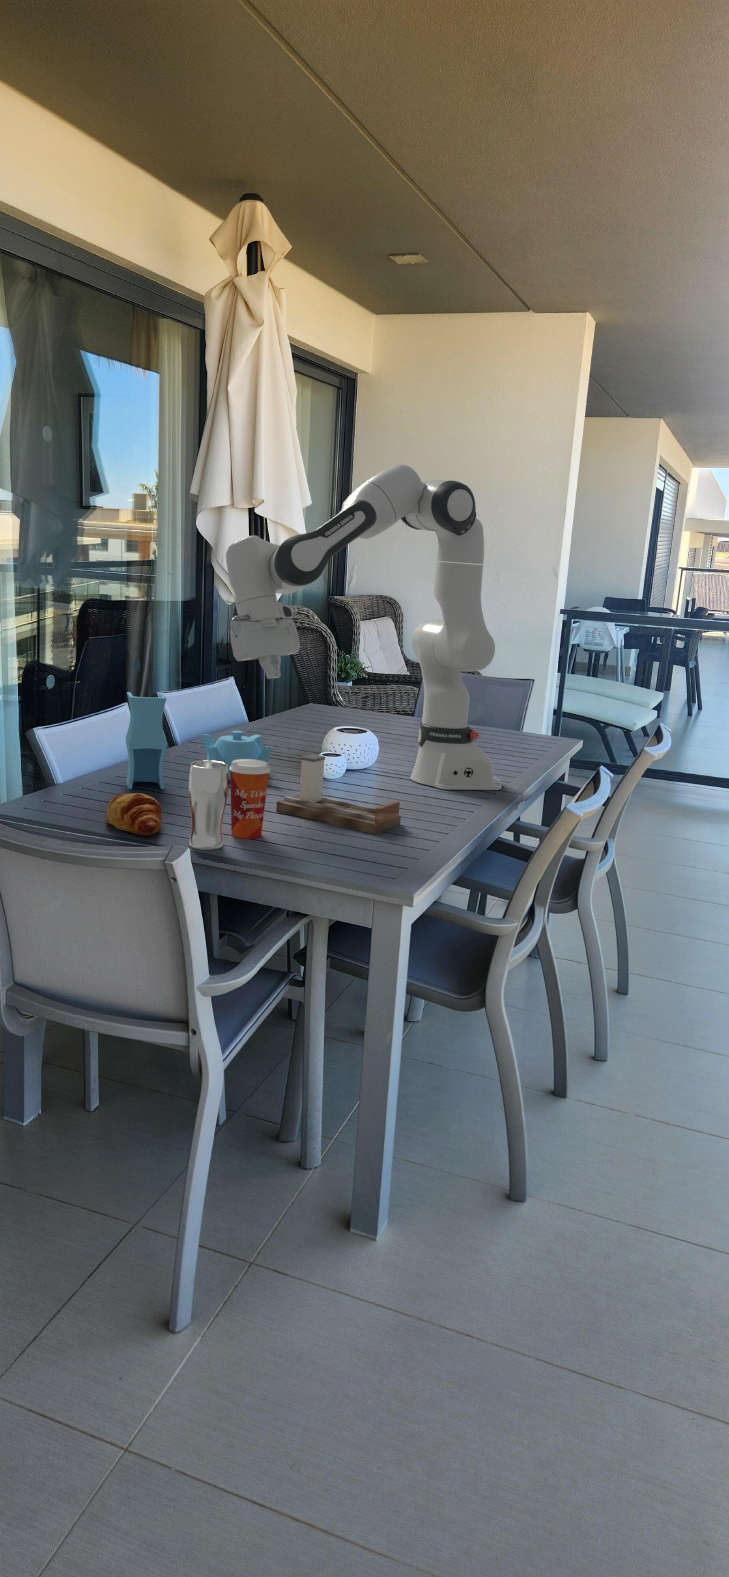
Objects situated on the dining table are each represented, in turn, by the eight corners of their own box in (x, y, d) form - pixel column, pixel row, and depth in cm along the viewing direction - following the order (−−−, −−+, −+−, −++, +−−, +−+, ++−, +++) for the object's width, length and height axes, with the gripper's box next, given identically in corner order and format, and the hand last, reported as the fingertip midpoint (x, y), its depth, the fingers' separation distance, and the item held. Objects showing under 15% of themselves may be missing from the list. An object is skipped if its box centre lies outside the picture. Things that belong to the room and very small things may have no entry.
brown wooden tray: (276, 810, 207) (277, 787, 206) (303, 802, 215) (304, 780, 214) (375, 834, 195) (377, 809, 194) (400, 824, 204) (402, 801, 202)
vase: (160, 780, 225) (163, 692, 220) (165, 789, 218) (167, 698, 213) (124, 780, 222) (126, 691, 218) (128, 789, 215) (130, 697, 210)
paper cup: (232, 841, 183) (235, 767, 180) (221, 830, 190) (224, 758, 187) (272, 839, 186) (277, 766, 183) (260, 828, 193) (264, 758, 190)
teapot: (272, 784, 230) (275, 738, 228) (207, 783, 226) (209, 736, 224) (262, 769, 244) (264, 726, 242) (200, 768, 240) (202, 724, 238)
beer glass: (217, 852, 176) (221, 770, 172) (180, 847, 177) (183, 765, 174) (230, 842, 182) (234, 762, 179) (194, 837, 184) (197, 758, 180)
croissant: (102, 829, 197) (83, 795, 193) (146, 803, 200) (128, 769, 197) (139, 858, 179) (119, 822, 176) (186, 829, 183) (168, 793, 180)
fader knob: (298, 800, 207) (301, 756, 205) (309, 797, 211) (312, 754, 208) (311, 803, 205) (314, 759, 203) (322, 800, 209) (325, 756, 207)
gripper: (241, 612, 201) (257, 679, 202) (297, 609, 218) (311, 670, 219) (217, 619, 204) (233, 685, 205) (274, 616, 222) (288, 676, 223)
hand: (274, 678), depth 213 cm, fingers closed
